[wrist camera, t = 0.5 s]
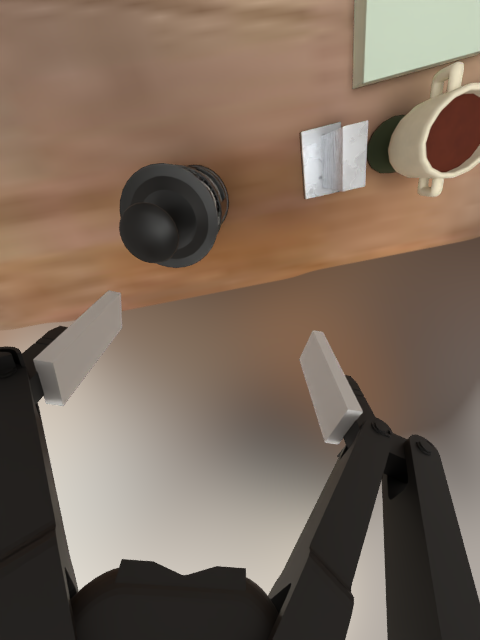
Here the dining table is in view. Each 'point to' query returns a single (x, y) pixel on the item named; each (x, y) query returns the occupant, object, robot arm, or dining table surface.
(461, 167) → the character mug
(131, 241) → the french press
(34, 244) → the dining table surface
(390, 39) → the stand
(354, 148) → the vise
